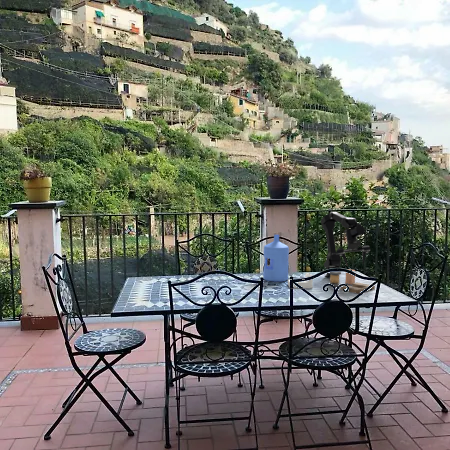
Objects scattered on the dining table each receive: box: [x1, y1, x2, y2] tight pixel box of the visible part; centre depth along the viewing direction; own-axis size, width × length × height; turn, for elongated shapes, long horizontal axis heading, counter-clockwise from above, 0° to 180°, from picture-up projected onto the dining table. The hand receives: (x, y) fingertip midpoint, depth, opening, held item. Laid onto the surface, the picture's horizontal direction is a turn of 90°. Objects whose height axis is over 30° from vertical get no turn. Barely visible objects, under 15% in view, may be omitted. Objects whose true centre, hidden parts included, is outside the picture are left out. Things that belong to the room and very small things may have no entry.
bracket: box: [287, 272, 314, 289], centre depth 250 cm, size 13×7×8 cm, turn 92°
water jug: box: [262, 234, 290, 283], centre depth 268 cm, size 16×16×28 cm
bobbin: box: [329, 271, 342, 287], centre depth 254 cm, size 7×7×8 cm
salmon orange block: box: [345, 269, 356, 285], centre depth 260 cm, size 4×4×8 cm
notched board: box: [340, 281, 376, 295], centre depth 244 cm, size 12×17×2 cm
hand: (355, 264), depth 253 cm, fingers open, 9 cm apart
